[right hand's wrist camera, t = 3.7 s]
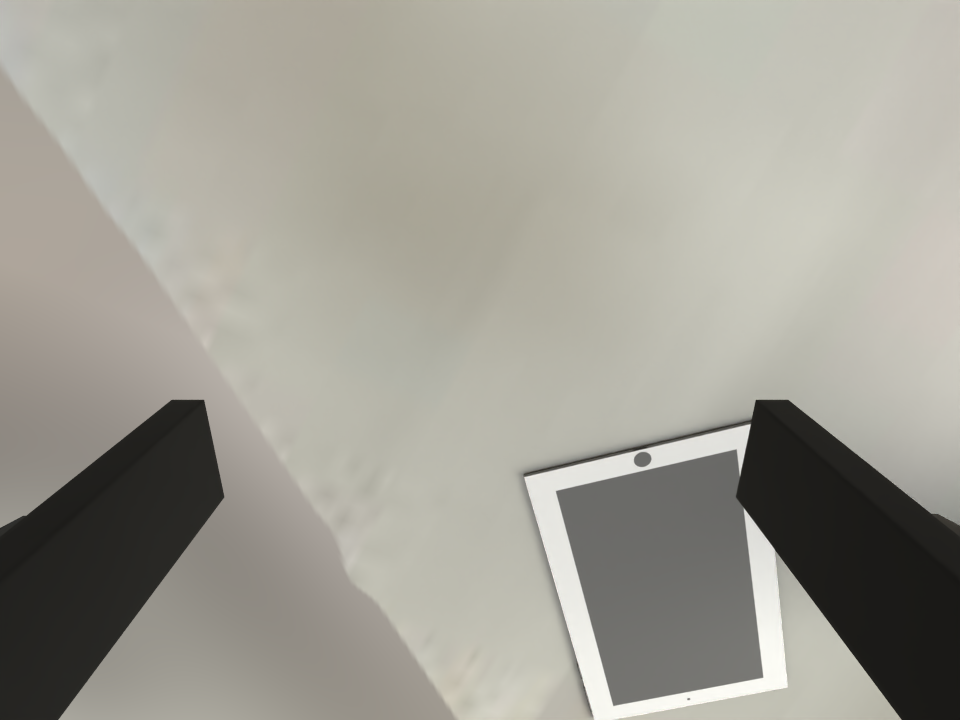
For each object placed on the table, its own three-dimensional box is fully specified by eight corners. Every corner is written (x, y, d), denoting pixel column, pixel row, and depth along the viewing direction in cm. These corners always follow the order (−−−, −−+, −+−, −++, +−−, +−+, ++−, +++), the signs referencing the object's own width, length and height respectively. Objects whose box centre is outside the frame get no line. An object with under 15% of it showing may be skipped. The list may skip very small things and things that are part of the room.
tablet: (785, 684, 55) (788, 687, 55) (593, 719, 57) (594, 723, 56) (760, 418, 44) (762, 421, 43) (521, 474, 46) (522, 477, 45)
